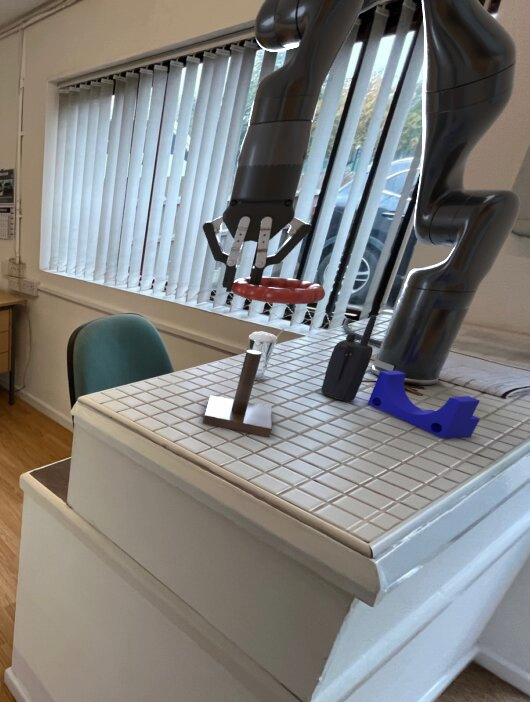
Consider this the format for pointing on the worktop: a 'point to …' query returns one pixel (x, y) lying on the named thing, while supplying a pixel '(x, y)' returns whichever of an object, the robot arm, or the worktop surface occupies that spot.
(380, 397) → the cable clip
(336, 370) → the two-way radio
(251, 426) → the stand
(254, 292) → the ring
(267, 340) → the milkshake
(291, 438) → the worktop surface
